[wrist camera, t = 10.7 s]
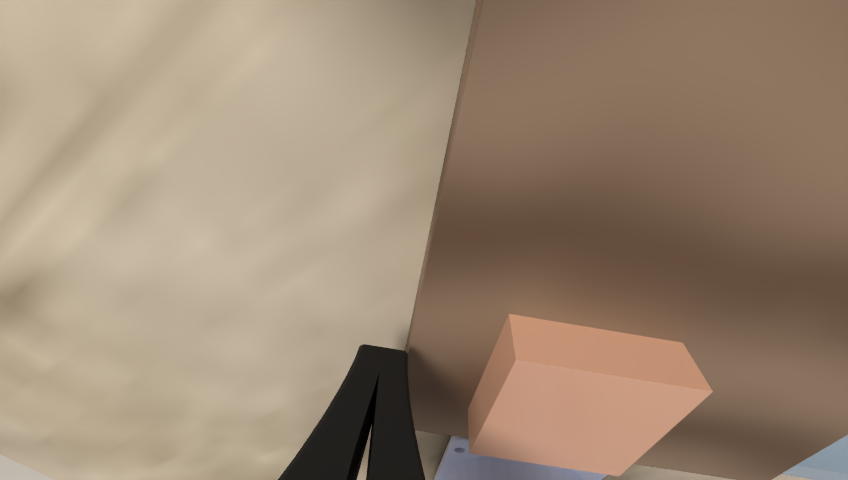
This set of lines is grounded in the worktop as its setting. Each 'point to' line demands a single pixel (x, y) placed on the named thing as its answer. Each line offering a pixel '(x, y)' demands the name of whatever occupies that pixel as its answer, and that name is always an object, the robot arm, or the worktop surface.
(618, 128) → the walnut board
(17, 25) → the worktop surface
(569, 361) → the terracotta tile
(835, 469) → the box
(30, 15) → the worktop surface
